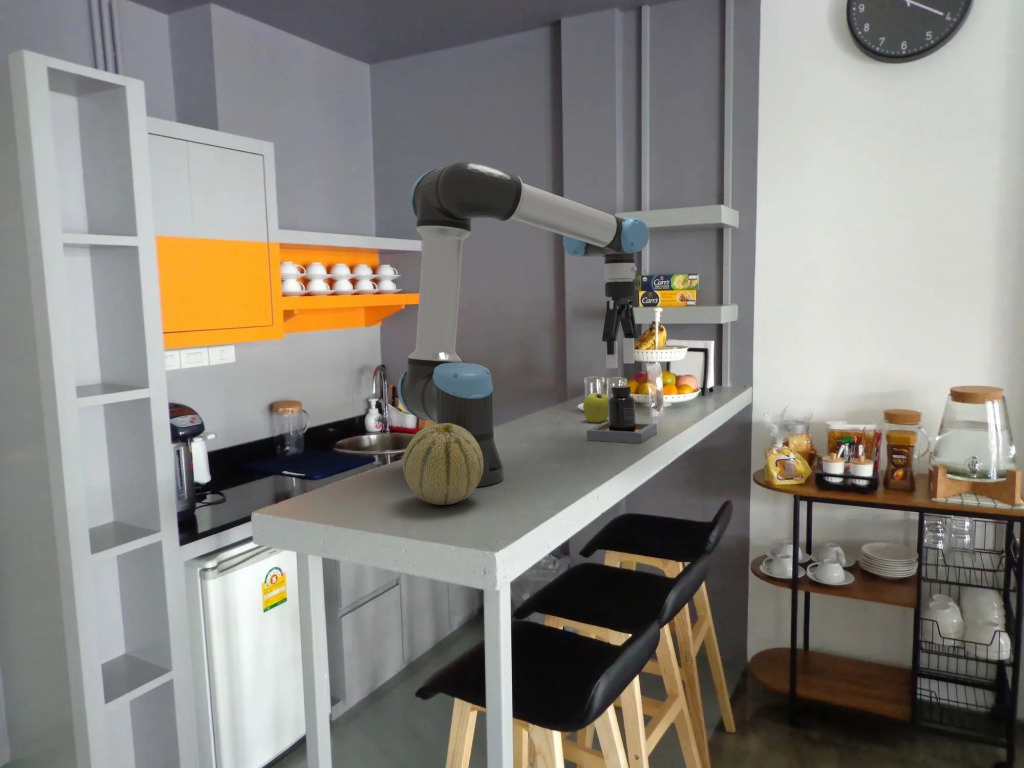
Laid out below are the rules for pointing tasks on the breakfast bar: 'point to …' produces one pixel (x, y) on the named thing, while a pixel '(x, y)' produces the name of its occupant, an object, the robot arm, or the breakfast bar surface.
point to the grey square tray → (622, 433)
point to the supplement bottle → (621, 410)
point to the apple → (596, 407)
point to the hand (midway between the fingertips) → (620, 365)
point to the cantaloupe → (443, 464)
